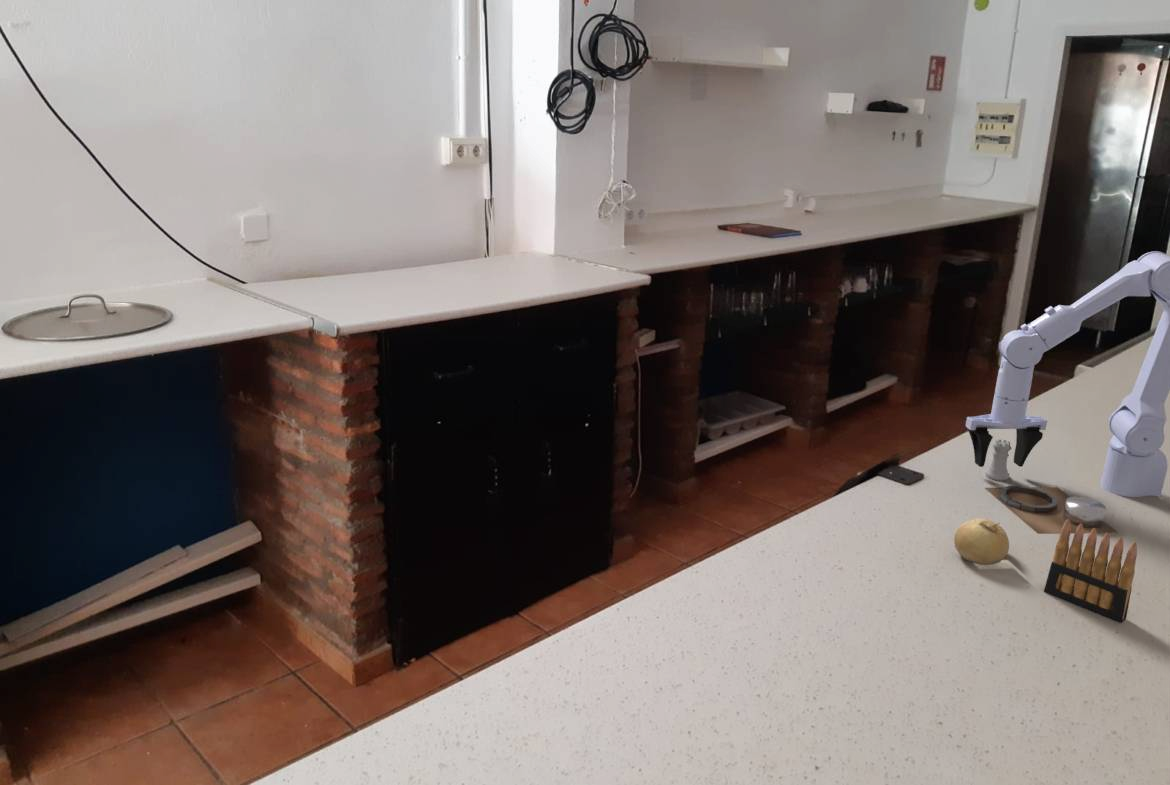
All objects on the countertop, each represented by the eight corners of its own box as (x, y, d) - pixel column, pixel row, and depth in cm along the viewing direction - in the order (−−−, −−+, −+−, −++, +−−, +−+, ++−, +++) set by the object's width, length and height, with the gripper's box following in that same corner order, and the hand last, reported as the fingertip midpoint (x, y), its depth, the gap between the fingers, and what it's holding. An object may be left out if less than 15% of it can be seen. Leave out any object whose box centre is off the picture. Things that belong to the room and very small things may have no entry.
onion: (943, 558, 144) (950, 517, 142) (963, 541, 150) (970, 501, 147) (995, 576, 139) (1003, 534, 137) (1013, 558, 144) (1021, 518, 142)
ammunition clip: (1126, 619, 128) (1145, 542, 125) (1121, 623, 127) (1139, 546, 123) (1048, 588, 136) (1064, 514, 132) (1043, 592, 135) (1058, 518, 131)
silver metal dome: (1088, 512, 159) (1092, 496, 158) (1110, 528, 153) (1113, 511, 152) (1055, 512, 158) (1058, 496, 157) (1075, 528, 153) (1079, 512, 152)
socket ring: (1038, 490, 167) (1039, 485, 167) (1067, 512, 158) (1068, 507, 158) (990, 490, 166) (991, 485, 166) (1016, 513, 158) (1017, 507, 157)
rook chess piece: (1004, 477, 175) (1011, 438, 172) (1011, 487, 171) (1019, 447, 168) (979, 475, 175) (986, 436, 173) (987, 485, 171) (994, 445, 169)
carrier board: (1056, 491, 169) (1057, 486, 169) (1117, 537, 152) (1118, 532, 152) (983, 492, 168) (984, 487, 168) (1036, 538, 151) (1037, 533, 151)
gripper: (1037, 389, 172) (1024, 456, 176) (963, 389, 171) (951, 456, 175) (1058, 401, 165) (1044, 470, 170) (981, 401, 164) (969, 471, 169)
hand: (998, 464), depth 172 cm, fingers open, 7 cm apart
